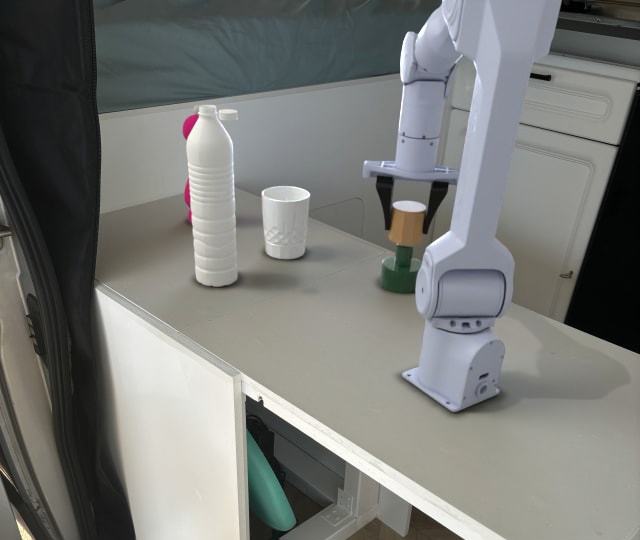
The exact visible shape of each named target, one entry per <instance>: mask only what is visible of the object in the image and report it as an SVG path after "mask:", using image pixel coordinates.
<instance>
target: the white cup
mask: <svg viewBox="0 0 640 540" xmlns="http://www.w3.org/2000/svg"><path fill="white" fill-rule="evenodd" d="M310 199H311V194H310V192H309V191H308V190H306V189H304V188H302V187H296V186H290V185H289V186H288V185H279V186H271V187H267V188H265V189H262V191H261V208H262V224H263V237H264V248H265V249H264V250H265V253H266V255H268V256H269V257H271V258H275V259H279V260H294V259H298V258H300V257H303V256H304V254H305V253H306V239H307V235H308V223H309V212H310V211H309V210H310Z"/></svg>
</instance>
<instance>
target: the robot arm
mask: <svg viewBox="0 0 640 540" xmlns="http://www.w3.org/2000/svg"><path fill="white" fill-rule="evenodd" d="M561 5H562V0H442V1H441V4H440V6H439V7H438V8H436V9H435V10H434V11H433V12H432V13H431V14H430V16H429V17H428V19H427V20H426V22H425V23H424V25H423V26H422V28H421V30H420V31H419V32H418V33H415V31H407V33H406V34H405V37H404V40H403V43H402V48H401V52H400V79H401V82H402V84H403V87H402V96H401V106H400V114H399V122H398V132H397V142H396V152H395V159H394V160H365V161H364V162H363V168H362V178H363V179H371V178H375V179H376V180H375V190H376V193H377V195H378V198H379V200H380V204H381V208H382V212H383V219H384V230H385V231H389V230H390V219H391V209H392V206H393V197H394V191H395V183H396V181H397V180H398V181H406V182H407V181H408V182H418V183H427V184H430V190H429V196H428V205H427V208H426V210H427V211H426V218H425V223H424V229H423V235H428V234H429V230H430V226H431V224H432V221H433V219H434V217H435V215H436V212H437V211H438V209H439V207H440V206H441V204H442V203H443V201H444V199H445V198H446V196H447V194H448V193H449V186H455V187H456V192H455V198H454V204H453V209H452V216H451V222H450V227H449V230H448V231H447V232H446V233H444V234H443V235H442V236H440V237H439V238H437V239H436V240H434V241H433V242H432V243H430V244H429V245H428V246H426V248H425V250H424V253H423V256H422V261H421V262H422V265H421V268H420V269H419V272H418V275H417V280H416V291H414V292H415V304H416V309H417V312H418V313H419V314H420V315H421V317H422V318H423V319H425V323H424V329H423V336H422V341H421V347H420V348H421V349H420V355H419V360H418V366H417V367H414V368H411V369H408V370H406V371H403V372H402V373H401V377H403V378H404V380H406V381H408V382H409V383H411V384H412V385H413V386H415V387H416V388H418V389H419V390H420V391H422V392H423V393H425V394H426V395H427V396H429V397H430V398H432V399H433V400H435V401H436V402H437V403H438V404H440V405H442V406H443V407H444V408H446V409H447V410H449V411H450V412H452V413H457V412H459V411H462V410H465V409H467V408H469V407H471V406H474V405H476V404H478V403H480V402H483V401H485V400H489V399H490V398H492V397H495V396H498V395H499V394H500V392H501V391H500V389H499V388H498V384H499V379H500V375H501V371H502V367H503V364H504V363H503V362H504V359H505V355H506V346H505V343H504V342H503V340H502V339H501V338H499V337H498V336H497V335H496V334H495V333H494V331H493V329H492V328H494V327H495V323H496V319H501V318H502V317H503V316H504V315H505V314H506V313H507V312H508V310H509V308H510V307H511V304H512V301H513V296H514V295H513V294H514V274H515V268H516V263H515V260H514V257H513V254H512V253H511V251H510V250H509V249H508V248H507V246H506V245H504V244H503V243H502V242H501V241H500V240H499V239H498V238H497V237H496V234H497V229H498V224H499V219H500V215H501V210H502V206H503V203H504V196H505V192H506V187H507V182H508V177H509V173H510V169H511V164H512V159H513V154H514V150H515V145H516V142H517V141H516V140H517V136H518V131H519V126H520V122H521V117H522V114H523V108H524V103H525V99H526V94H527V90H528V86H529V81H530V78H531V77H530V76H531V72H532V67H533V64H534V63H535V62H538V61H539V60H540V59H542V58H544V57H546V56H547V55H549V53H550V49H551V45H552V41H553V39H554V36H555V31H556V27H557V22H558V18H559V14H560V10H561ZM463 56H464V57H465V58H467V59H469V60H471V61H473V64H474V67H475V70H476V74H475V80H474V81H475V82H474V87H473V92H472V97H471V105H470V110H469V115H468V120H467V121H468V122H467V127H466V128H467V129H466V135H465V139H464V146H463V151H462V157H461V163H460V168H459V169H458V168H453V167H448V166H443V165H437V164H436V163H437V157H438V150H439V143H440V134H441V129H442V121H443V114H444V108H445V102H446V100H447V101H448V99H449V96H450V92H451V91H450V90H451V85H452V82H453V80H454V76H455V73H456V68H457V62H458V61H459V60H460V59H461V58H462V57H463Z"/></svg>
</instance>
